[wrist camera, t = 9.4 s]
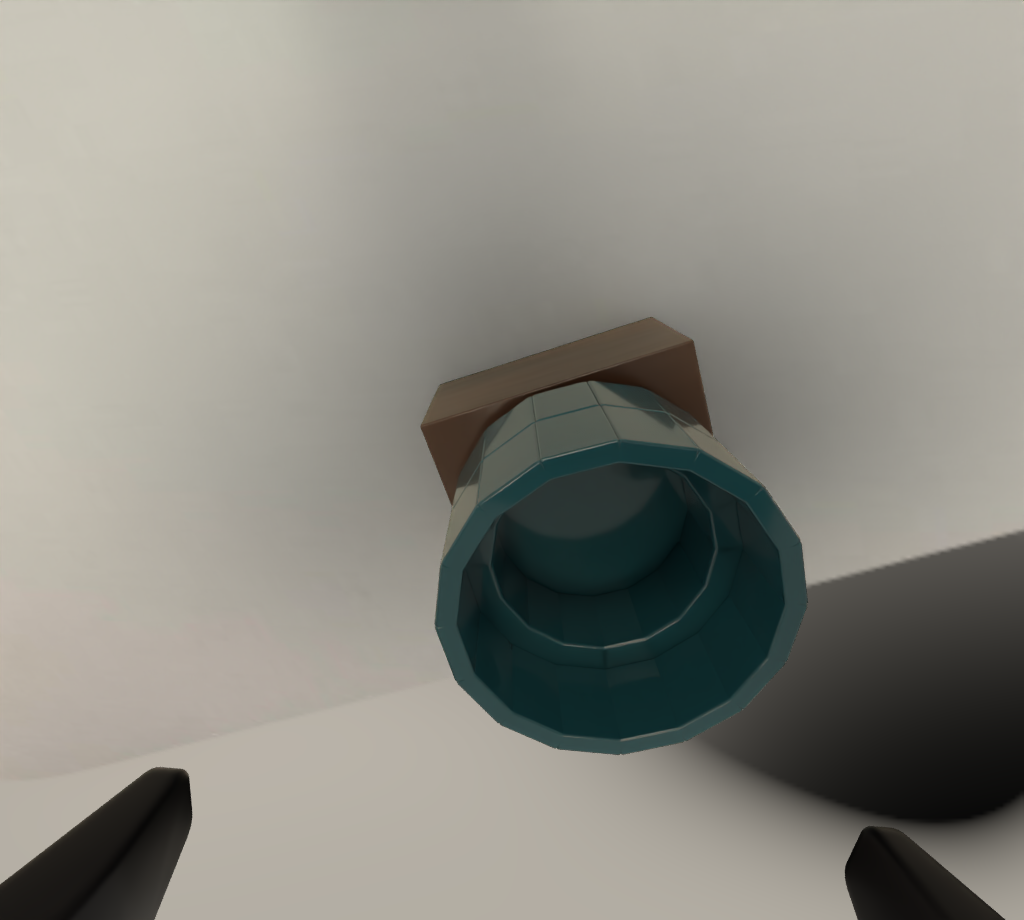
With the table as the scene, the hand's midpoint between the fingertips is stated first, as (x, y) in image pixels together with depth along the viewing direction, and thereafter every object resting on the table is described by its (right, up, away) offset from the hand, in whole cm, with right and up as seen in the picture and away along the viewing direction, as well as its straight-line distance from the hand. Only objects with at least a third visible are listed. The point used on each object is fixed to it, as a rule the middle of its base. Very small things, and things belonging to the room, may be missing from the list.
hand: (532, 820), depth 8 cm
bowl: (+2, +4, +7) cm, 8 cm away
